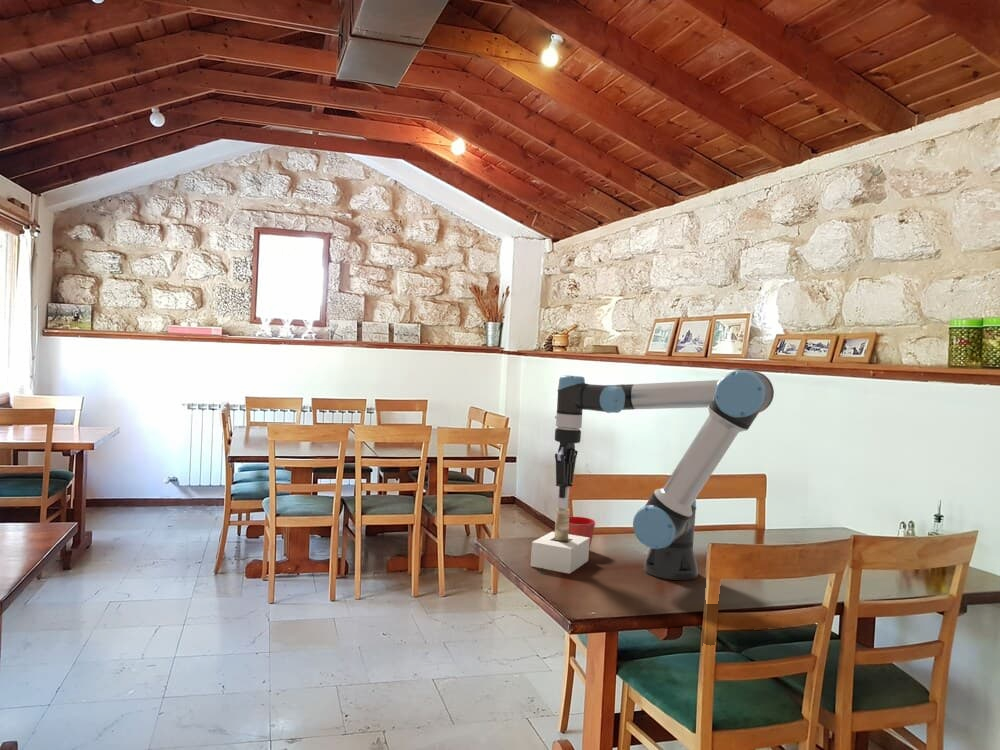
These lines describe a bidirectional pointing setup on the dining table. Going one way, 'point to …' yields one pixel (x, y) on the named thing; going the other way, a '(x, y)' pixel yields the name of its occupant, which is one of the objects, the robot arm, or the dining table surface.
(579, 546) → the socket block
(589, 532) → the flower pot
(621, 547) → the dining table surface
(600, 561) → the dining table surface
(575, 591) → the dining table surface
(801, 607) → the dining table surface
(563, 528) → the beech peg
